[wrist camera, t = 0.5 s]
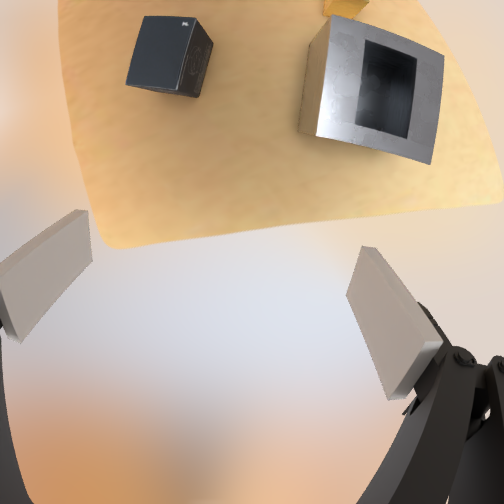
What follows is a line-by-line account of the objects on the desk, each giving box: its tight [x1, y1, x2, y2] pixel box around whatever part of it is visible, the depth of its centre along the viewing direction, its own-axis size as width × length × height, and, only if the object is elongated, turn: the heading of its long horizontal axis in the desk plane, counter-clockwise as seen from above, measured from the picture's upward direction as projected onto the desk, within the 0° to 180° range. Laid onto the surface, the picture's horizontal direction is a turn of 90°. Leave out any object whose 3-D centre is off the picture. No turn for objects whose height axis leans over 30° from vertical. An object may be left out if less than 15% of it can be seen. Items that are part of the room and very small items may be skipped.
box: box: [126, 16, 213, 98], centre depth 26 cm, size 8×6×11 cm
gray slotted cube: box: [298, 14, 444, 165], centre depth 26 cm, size 12×12×12 cm
